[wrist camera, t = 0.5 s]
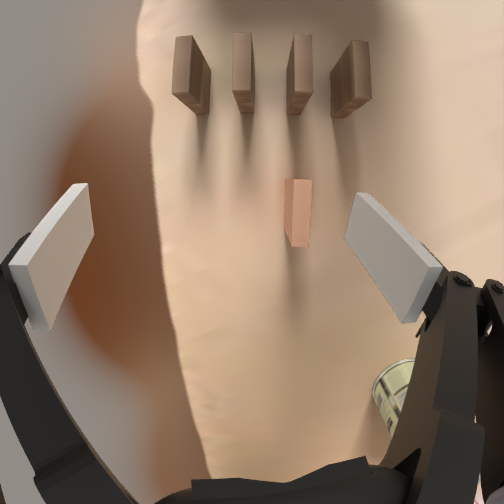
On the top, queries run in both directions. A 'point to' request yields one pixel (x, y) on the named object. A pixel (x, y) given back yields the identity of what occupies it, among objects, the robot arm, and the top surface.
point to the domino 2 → (243, 72)
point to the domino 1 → (191, 75)
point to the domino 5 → (351, 80)
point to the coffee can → (392, 391)
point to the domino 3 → (299, 74)
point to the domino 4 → (298, 211)
